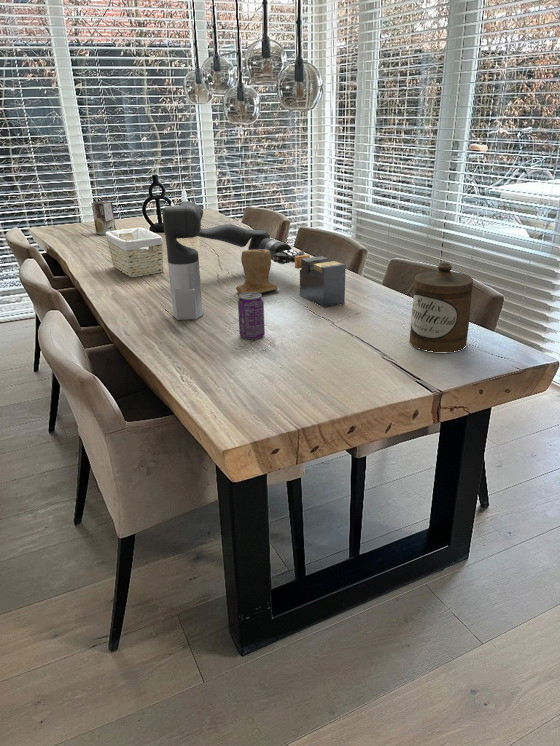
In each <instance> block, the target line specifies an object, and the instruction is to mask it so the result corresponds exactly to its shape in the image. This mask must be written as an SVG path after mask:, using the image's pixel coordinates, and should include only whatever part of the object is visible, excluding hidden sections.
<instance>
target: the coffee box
mask: <svg viewBox="0 0 560 746" xmlns="http://www.w3.org/2000/svg"><path fill="white" fill-rule="evenodd" d="M91 209H92V215H93V221H94V227H95V232H96V233H95V234H96V235H104V236H106V234H105V233H106V232H108V231H115V230H117V229H116V227H117V226H116V221H115V214H114V206H113V202H112V201H106V200H105V201H103V200H102V201H101V200H99V201H95V202H91Z"/></svg>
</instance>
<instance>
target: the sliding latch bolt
mask: <svg viewBox="0 0 560 746" xmlns="http://www.w3.org/2000/svg"><path fill="white" fill-rule="evenodd" d="M305 258H311V257H310V255H309V254H304V255H301V256H295V263H294V269H297V270H298V269H299V270H300V269H301V259H305ZM313 266H314V265H313ZM313 266H310V270H313Z"/></svg>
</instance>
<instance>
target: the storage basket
mask: <svg viewBox="0 0 560 746" xmlns="http://www.w3.org/2000/svg"><path fill="white" fill-rule="evenodd" d="M105 234H106V235H105V239H106V242H107V245H108V249H109V254H110V259H111V262H112V266H113V267H114V268H115V269H117V270H118V271H120V272H121V271H122V272H121V273H123V274H124V273H125V274H124V275H126V276H127V277H129V278H138V277H142V276H143V275H145V276H150V275H149V274H152V275H155V273H158V274H160V272H161V273H164V254H163V252H164V251H163V244H164V241H163V238H162V236H161V235H159V234H157V233H155V232H153V231H151V230H148V229H147V228H143V227H140V226H139V227H135V228H125V229H116V230H115V231H108V232H106V233H105ZM128 236H132V239H129V240H125V239H121V237H122V238H123V237H128ZM137 276H138V277H137ZM143 277H144V276H143Z"/></svg>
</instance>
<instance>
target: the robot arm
mask: <svg viewBox="0 0 560 746" xmlns="http://www.w3.org/2000/svg"><path fill="white" fill-rule="evenodd" d="M203 215H204V210H203V208H202V207H201V206H200V205H198V204H197V203H195V202H191V201H186V200H185V201H181V202H180V203H178V205H167V206H165V207H164V208H163V210H162V224H163V226H162V227H163V232H164V236H165V237H164V238H165V244H166V254H167V266H168V275H169V285H170V295H171V296H170V297H171V304H172V305H171V306H172V314H173V315H172V316H173V318H174V319H176V321H182V320H183V321H185V320H186V321H187V320H191V321H192V320H198V319H199V318H201V317H202V316H203V315H204V311H203V310H204V309H203V307H204V306H203V297H202V287H201V286H202V285H201V274H200V271H201V270H200V261H199V260H200V257H199V252H198V250H196V249H195V248H192V247H189V246H186V245H183V244H182V243H181V242H179V241H178V240H177V239H193V238H197V237H199V238H204V239H208V240H214V241H220V242H224V243H226V244H227V243H228V244H231V245H233V246H236V247H240V248H244V247H246V246H248V247H247V250H259V249H261V250H268V251H269V252H270V255H271V261H273V263H278V264H280V265H285V264H290V263H292V264H295V256H301V255H305V250H300V251H299V252H298V251H296V250H294V249H293V248H292V246H290V244H288V243H286V242H282V241H280V240H275V239H273V238H272V237H271V236H270V234H269V232H267V231H265V230H263V229H247V228H243V227H240V226H238V225H234V224H231V223H227V224H226V223H224V224H221V225H217V226H214V227H210V228H202V219H203ZM248 244H249V245H248Z"/></svg>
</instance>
